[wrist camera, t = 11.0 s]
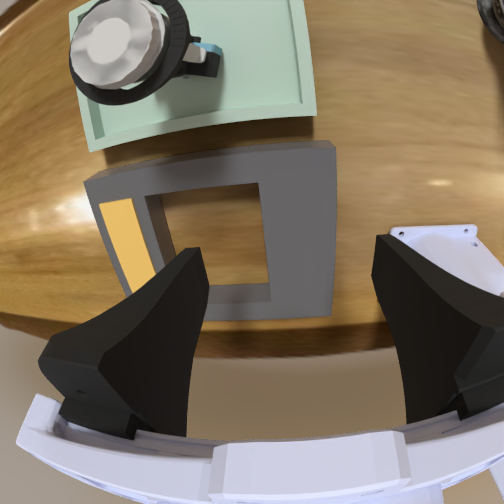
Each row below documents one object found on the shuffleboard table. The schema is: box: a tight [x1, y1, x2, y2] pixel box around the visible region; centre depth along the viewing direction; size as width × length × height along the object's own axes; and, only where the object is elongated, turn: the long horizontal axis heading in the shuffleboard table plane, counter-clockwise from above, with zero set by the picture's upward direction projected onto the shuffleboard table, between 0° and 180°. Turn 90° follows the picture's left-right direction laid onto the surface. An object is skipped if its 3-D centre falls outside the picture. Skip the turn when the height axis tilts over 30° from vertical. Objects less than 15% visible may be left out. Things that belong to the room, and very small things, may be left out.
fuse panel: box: [84, 140, 337, 321], centre depth 22 cm, size 18×14×3 cm
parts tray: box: [69, 0, 317, 152], centre depth 14 cm, size 16×12×2 cm
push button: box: [69, 0, 222, 106], centre depth 11 cm, size 7×5×10 cm
